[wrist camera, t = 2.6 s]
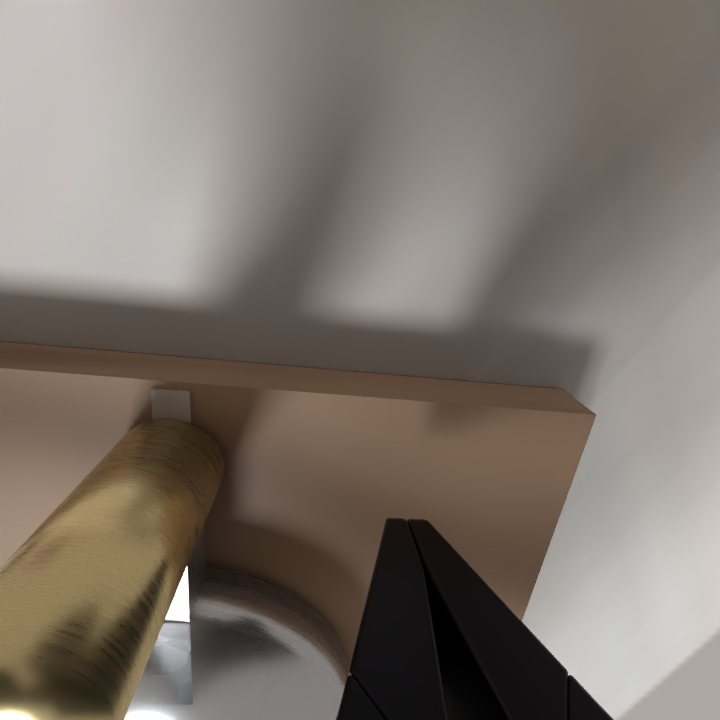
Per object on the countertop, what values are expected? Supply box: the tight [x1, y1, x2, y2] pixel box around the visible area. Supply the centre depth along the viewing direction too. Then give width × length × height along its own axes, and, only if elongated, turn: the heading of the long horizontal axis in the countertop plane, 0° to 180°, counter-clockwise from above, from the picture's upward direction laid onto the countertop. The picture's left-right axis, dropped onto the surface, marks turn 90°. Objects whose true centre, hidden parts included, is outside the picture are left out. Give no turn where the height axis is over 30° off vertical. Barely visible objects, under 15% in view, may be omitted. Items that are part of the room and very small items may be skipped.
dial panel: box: [0, 342, 596, 668], centre depth 13 cm, size 20×20×2 cm
